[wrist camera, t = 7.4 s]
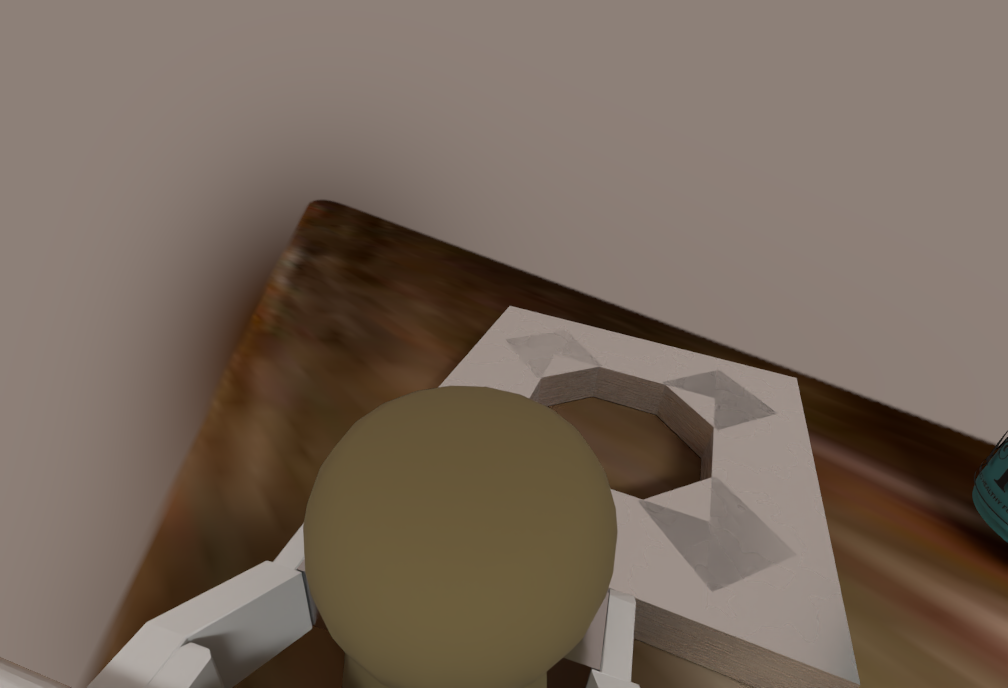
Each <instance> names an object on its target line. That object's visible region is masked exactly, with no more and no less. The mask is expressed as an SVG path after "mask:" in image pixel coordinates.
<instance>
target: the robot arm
mask: <svg viewBox="0 0 1008 688" xmlns="http://www.w3.org/2000/svg"><path fill="white" fill-rule="evenodd" d="M303 525H304V523H303V524H302V526H301V527H300V528H299V529H298V531H297V532H296V533H295V534H294V536H293V537H292V538H291V540H290V541H289V542H288V543H287V545H286V546H285V547H284V548H283V550H282V551H281V552H280V554H279V555H278V556H277V557H276V559H275V560H274V561H273V562H271V561H267V560H266V561H265V562H263V563H261V564H259V565H257V566H255V567H253V568H251V569H249V570H247V571H245V572H243V573H241V574H239V575H237V576H235V577H233V578H232V579H230V580H228V581H226V582H224V583H222V584H220V585H218V586H216V587H214V588H212V589H210V590H208V591H206V592H204V593H202V594H200V595H198V596H197V597H195V598H193V599H191V600H189V601H187V602H185V603H183V604H181V605H179V606H177V607H175V608H173V609H171V610H169V611H167V612H165V613H164V614H162V615H160V616H158V617H156V618H154V619H152V620H150V621H148V622H146V623H145V624H144V626H143V627H142V628H141V629H140V630H139V631H138V632H137V633H136V634H135V635H134V636H133V637H132V638H131V640H130V641H129V642H128V643H127V644H126V645H125V646H124V647H123V648H122V649H121V650H120V651H119V652H118V654H117V655H116V656H115V657H114V658H113V659H112V660H111V661H110V662H109V663H108V664H107V665H106V667H105V668H104V669H103V670H102V671H101V672H100V673H99V674H98V675H97V676H96V677H95V678H94V679H93V681H92V682H91V683H90V684H89V685H88V686H87V687H86V688H232V687H234V686H235V685H237V684H238V683H239V682H241V681H242V680H243V679H245V678H246V677H247V676H249V675H250V674H251V673H253V672H254V671H255V670H257V669H258V668H260V667H261V666H262V665H264V664H265V663H266V662H268V661H269V660H270V659H272V658H273V657H274V656H276V655H277V654H279V653H280V652H281V651H283V650H284V649H285V648H287V647H288V646H289V645H291V644H292V643H293V642H295V641H296V640H297V639H299V638H300V637H302V636H303V635H304V634H306V633H307V632H308V631H310V630H311V629H312V626H315V627H318V628H321V629H325V630H328V628H327V626H326V624H325V622H324V620H323V618H322V616H321V614H320V612H319V610H318V608H317V606H316V604H315V602H314V600H313V598H312V596H311V593H310V589H309V585H308V581H307V577H306V572H305V557H304V536H303ZM635 609H636V601H635V597H634V595H630V594H627V593H623V592H619V591H616V590H612V589H609V588H608V591H607V594H606V597H605V599H604V600H603V602H602V604H601V606H600V608H599V610H598V611H597V613H596V615H595V617H594V619H593V621H592V623H591V624H590V626H589V628H588V630H587V632H586V634H585V636H584V637H583V638H582V640H581V641H580V642H579V643H578V644H577V645H576V646H575V647H574V648H573V649H572V650H571V651H570V652H569V653H568V654H567V655H565V656H564V657H563V658H562V659H561V660H560V661H558V662H557V663H556V664H555V665H554V666H553V667H551V668H550V669H549V670H548V671H547V688H640V687H639V685H638V684H636V683H633V682H631V671H632V656H633V640H634V624H635ZM0 688H71V687H69V686H66V685H64V684H62V683H60V682H57V681H55V680H52V679H50V678H48V677H45V676H43V675H41V674H38V673H36V672H33V671H31V670H29V669H27V668H24V667H22V666H20V665H17V664H15V663H13V662H10V661H8V660H6V659H3V658H1V657H0Z"/></svg>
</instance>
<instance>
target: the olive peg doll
mask: <svg viewBox="0 0 1008 688" xmlns="http://www.w3.org/2000/svg"><path fill="white" fill-rule="evenodd" d="M617 533H618V530H617V517H616V507H615V504H614V500H613V497H612V493H611V490H610V486H609V483H608V479H607V475H606V473H605V471H604V469H603V467H602V466H601V464H600V462H599V460H598V459H597V457H596V455H595V454H594V452H593V451H592V449H591V448H590V447H589V445H588V444H587V442H586V441H585V440H584V438H583V437H582V435H581V434H580V433H579V431H578V430H577V429H576V428H575V427H574V426H573V425H571V424H570V423H569V422H568V421H566V420H565V419H564V418H562V417H561V416H560V415H559V414H557V413H556V412H555V411H553V410H552V409H551V408H549V407H547V406H544V405H542V404H540V403H538V402H536V401H533V400H531V399H529V398H527V397H525V396H522V395H520V394H516V393H512V392H507V391H503V390H498V389H494V388H490V387H479V386H445V387H439V388H433V389H426V390H420V391H415V392H413V393H410V394H407V395H404V396H402V397H399V398H396V399H394V400H391V401H388V402H386V403H383V404H382V405H380V406H379V407H377V408H376V409H374V410H373V411H371V412H370V413H368V414H367V415H365V416H364V417H362V418H361V419H359V420H358V421H356V422H355V423H354V424H353V426H352V427H351V428H350V429H349V430H348V432H347V433H346V434H345V435H344V436H343V438H342V439H341V440H340V441H339V442H338V444H337V445H336V446H335V447H334V449H333V450H332V451H331V453H330V454H329V456H328V457H327V458H326V460H325V461H324V463H323V464H322V465H321V467H320V470H319V472H318V475H317V478H316V481H315V483H314V486H313V489H312V492H311V494H310V497H309V500H308V503H307V508H306V514H305V519H304V525H303V536H304V557H305V572H306V577H307V581H308V585H309V589H310V593H311V596H312V598H313V600H314V602H315V604H316V606H317V608H318V610H319V612H320V614H321V616H322V618H323V620H324V622H325V624H326V626H327V628H328V631H329V633H330V635H331V637H332V638H333V639H334V640H335V642H336V643H337V644H338V645H339V646H340V647H341V648H342V650H343V651H344V652H345V658H344V671H343V684H342V688H547V671H548V670H549V669H550V668H551V667H553V666H554V665H555V664H556V663H557V662H558V661H560V660H561V659H562V658H563V657H564V656H565V655H567V654H568V653H569V652H570V651H571V650H572V649H573V648H574V647H575V646H576V645H577V644H578V643H579V642H580V641H581V640H582V638H583V637H584V636H585V634H586V632H587V630H588V628H589V626H590V624H591V623H592V621H593V619H594V617H595V615H596V613H597V611H598V610H599V608H600V606H601V604H602V602H603V600H604V599H605V597H606V594H607V591H608V588H609V585H610V582H611V579H612V575H613V570H614V561H615V552H616V543H617Z"/></svg>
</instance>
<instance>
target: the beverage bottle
mask: <svg viewBox="0 0 1008 688" xmlns="http://www.w3.org/2000/svg"><path fill="white" fill-rule="evenodd" d="M1006 433H1007V432H1006ZM1006 433H1005V434H1004V436H1005V435H1006ZM1004 436H1003V437H1004ZM1003 437H1002V438H1001V440H1000V441H999V442H998V444H997V445H996V446H995V448H994V449H993V450H992V451H991V452H990V453H991V454H990V455H989V456H988V457H987V458H986V459H987V463H985V464H987V465H986V466H985V468H984V469H983V470H981V469H982V468H981V467H982V464H983V462H984V461H983V462H982V464H981V466H980V468H981V469H979V471H980V472H981V471H982V472H981V473H979V475H978V477H977V479H976V482H975V475H974V483H975V486H974V488H973V493H972V497H973V502H974V505H975V507H976V509H977V511H978V512H979V514H980V515H981V517H982V518H983V519H984V520H985V522H986V523H987V524H988V525H989V526H990V527H991V528H992V529H993V530H994V531H995V532H996V533H997V534H998V535H999V536H1000V537H1001V538H1003V539H1004V540H1005V541H1006V542H1007V543H1008V437H1007V438H1006V439H1005V440H1004V442H1003V443H1002V444H1001V445H1000V446H999V447H998V445H999V444H1000V442H1001V441H1002V439H1003ZM997 447H998V448H1000V449H999V450H998V451H997V453H996V454H993V453H994V451H995V450H996V449H998V448H997ZM992 454H993V455H994V456H993V455H992ZM991 456H993V458H992V459H991V460H990V458H991ZM986 459H985V460H986ZM989 460H990V461H989ZM985 464H983V465H985ZM976 471H977V470H976ZM975 473H976V472H975Z"/></svg>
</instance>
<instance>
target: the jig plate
mask: <svg viewBox="0 0 1008 688" xmlns="http://www.w3.org/2000/svg"><path fill="white" fill-rule="evenodd" d="M445 386H479V387H490V388H494V389H498V390H503V391H507V392H512V393H516V394H520V395H522V396H525V397H527V398H529V399H531V400H533V401H536V402H538V403H540V404H542V405H544V406H550V405H555V404H559V403H564V402H569V401H573V400H578V399H582V398H587V397H592V396H593V397H597V398H600V399H604V400H607V401H611V402H614V403H618V404H621V405H624V406H628V407H631V408H635V409H638V410H642V411H645V412H649V413H652V414H656V415H657V416H658V417H659V418H660V419H661V420H662V421H663V422H664V423H665V424H666V425H667V426H668V427H669V428H670V429H672V430H673V431H674V432H675V433H676V434H677V435H678V436H679V437H680V438H681V439H682V440H683V441H684V442H685V443H686V444H687V445H688V446H689V447H690V448H691V449H692V450H693V451H694V452H695V453H696V454H697V455H698V456H699V457H701V458H702V461H701V475H700V481H699V482H696V483H693V484H690V485H687V486H684V487H681V488H677V489H674V490H671V491H668V492H665V493H662V494H659V495H656V496H653V497H650V498H647V499H644V500H642V499H639V498H636V497H633V496H630V495H627V494H624V493H621V492H618V491H615V490H612V489H610V490H611V493H612V497H613V500H614V504H615V507H616V517H617V530H618V533H617V543H616V552H615V561H614V570H613V575H612V579H611V582H610V585H609V589H612V590H616V591H619V592H623V593H627V594H630V595H634V597H635V601H636V609H635V624H634V638H635V639H637V640H640V641H642V642H645V643H647V644H650V645H652V646H655V647H657V648H660V649H662V650H664V651H667V652H669V653H672V654H674V655H677V656H679V657H682V658H684V659H687V660H689V661H691V662H694V663H696V664H699V665H701V666H704V667H706V668H709V669H711V670H713V671H716V672H718V673H721V674H723V675H726V676H728V677H731V678H733V679H736V680H738V681H740V682H743V683H745V684H748V685H750V686H753V687H755V688H858V687H859V686H860V681H859V676H858V671H857V667H856V662H855V657H854V652H853V647H852V642H851V638H850V633H849V628H848V623H847V618H846V614H845V609H844V604H843V599H842V594H841V589H840V585H839V580H838V575H837V570H836V565H835V560H834V556H833V551H832V546H831V541H830V536H829V532H828V527H827V522H826V517H825V512H824V507H823V503H822V498H821V493H820V488H819V483H818V479H817V474H816V469H815V464H814V459H813V454H812V450H811V445H810V440H809V435H808V430H807V426H806V421H805V416H804V411H803V406H802V401H801V397H800V392H799V387H798V382H797V378H794V377H790V376H786V375H782V374H778V373H774V372H770V371H766V370H762V369H758V368H754V367H750V366H747V365H743V364H739V363H735V362H731V361H727V360H723V359H719V358H715V357H711V356H707V355H703V354H699V353H695V352H691V351H687V350H683V349H679V348H675V347H671V346H667V345H663V344H659V343H655V342H651V341H647V340H643V339H639V338H635V337H631V336H628V335H624V334H620V333H616V332H612V331H608V330H604V329H600V328H596V327H592V326H588V325H584V324H580V323H576V322H572V321H568V320H564V319H560V318H556V317H552V316H548V315H544V314H540V313H536V312H532V311H528V310H524V309H520V308H516V307H512V306H509V307H508V309H507V310H506V311H505V312H504V313H503V314H502V315H501V317H500V318H499V319H498V320H497V321H496V322H495V323H494V325H493V326H492V327H491V328H490V329H489V330H488V331H487V332H486V334H485V335H484V336H483V337H482V338H481V339H480V340H479V342H478V343H477V344H476V345H475V346H474V347H473V348H472V350H471V351H470V352H469V353H468V354H467V355H466V356H465V358H464V359H463V360H462V361H461V362H460V363H459V364H458V366H457V367H456V368H455V369H454V370H453V371H452V372H451V374H450V375H449V376H448V377H447V378H446V379H445V380H444V382H443V383H442V384H441V385H440V386H439V387H445ZM439 387H438V388H439Z"/></svg>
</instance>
